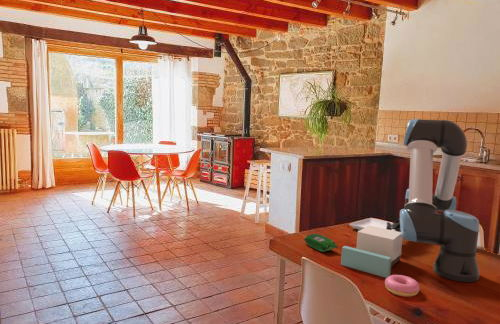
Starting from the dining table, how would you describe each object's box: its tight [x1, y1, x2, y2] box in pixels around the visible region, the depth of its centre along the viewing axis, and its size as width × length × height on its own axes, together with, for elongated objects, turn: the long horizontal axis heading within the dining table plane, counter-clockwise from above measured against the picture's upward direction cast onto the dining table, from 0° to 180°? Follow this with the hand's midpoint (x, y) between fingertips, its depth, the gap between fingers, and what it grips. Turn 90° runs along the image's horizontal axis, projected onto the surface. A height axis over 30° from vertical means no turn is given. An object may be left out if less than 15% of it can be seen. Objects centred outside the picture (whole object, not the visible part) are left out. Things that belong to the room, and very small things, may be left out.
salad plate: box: [349, 217, 394, 231], centre depth 197 cm, size 21×21×3 cm
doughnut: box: [384, 274, 421, 298], centre depth 130 cm, size 11×11×4 cm
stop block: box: [340, 245, 392, 279], centre depth 145 cm, size 18×2×7 cm, turn 52°
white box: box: [355, 226, 403, 262], centre depth 156 cm, size 14×12×9 cm
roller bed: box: [390, 255, 401, 269], centre depth 154 cm, size 14×17×2 cm
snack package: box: [303, 233, 339, 253], centre depth 168 cm, size 7×16×5 cm, turn 29°
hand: (388, 235), depth 165 cm, fingers closed
